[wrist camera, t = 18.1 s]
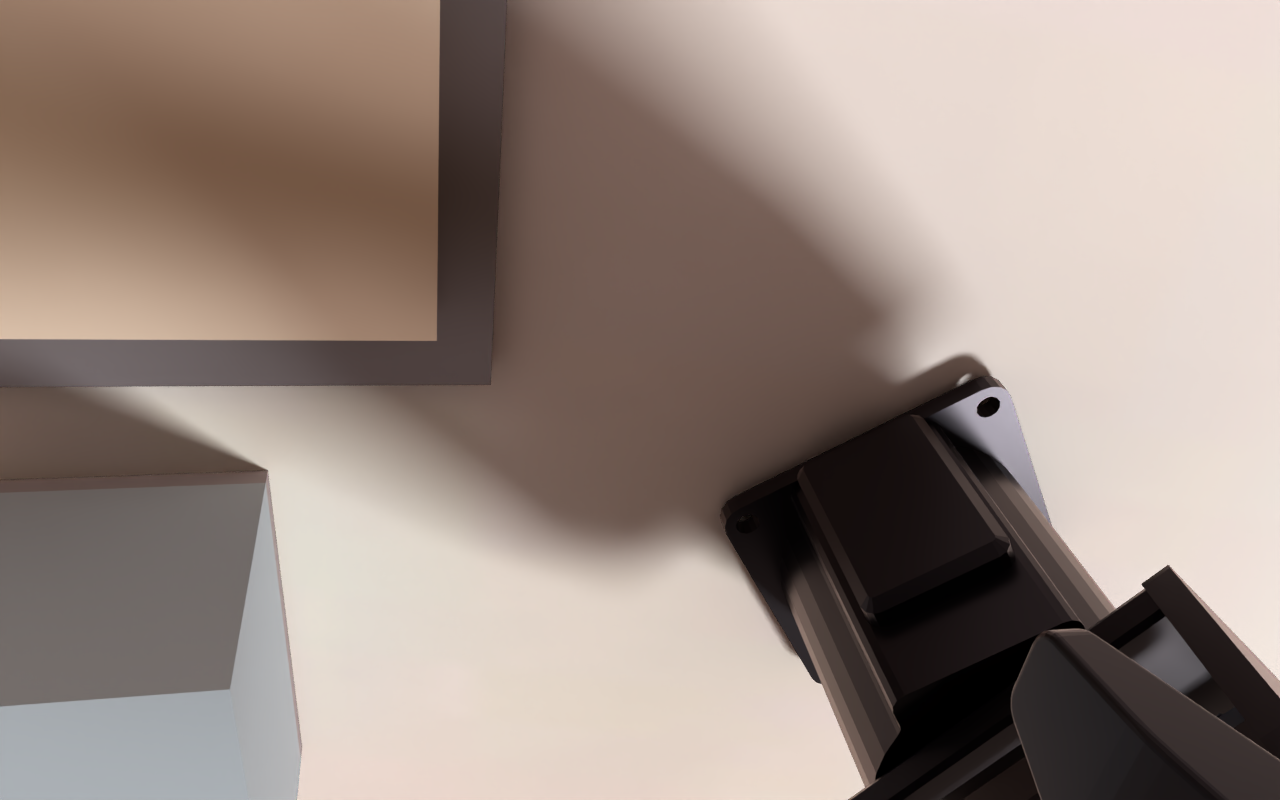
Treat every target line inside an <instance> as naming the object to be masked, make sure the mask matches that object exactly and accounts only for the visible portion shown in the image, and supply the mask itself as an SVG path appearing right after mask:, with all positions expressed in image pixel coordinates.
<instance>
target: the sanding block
mask: <svg viewBox="0 0 1280 800" xmlns="http://www.w3.org/2000/svg"><path fill="white" fill-rule="evenodd" d="M301 753H302V742H301V734H300V725H299V717H298V709H297V701H296V693H295V685H294V677H293V669H292V661H291V653H290V645H289V637H288V629H287V621H286V613H285V604H284V596H283V588H282V580H281V572H280V564H279V556H278V548H277V540H276V532H275V524H274V516H273V508H272V500H271V492H270V483H269V475H268V471H241V472H213V473H186V474H158V475H131V476H103V477H76V478H48V479H21V480H0V800H297V795H298V784H299V774H300V763H301Z"/></svg>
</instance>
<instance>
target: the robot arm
mask: <svg viewBox="0 0 1280 800" xmlns="http://www.w3.org/2000/svg"><path fill="white" fill-rule="evenodd" d="M988 397H990V399H989V401H988V402H986V403H985V404H984V405H982V406H978V405H979V403H980V402H981V401H982V400H984V399H985V398H988ZM746 515H752V517H750V518H749V519H748V520H745V521H738V520H739V519H740V518H742V517H743V516H746ZM720 518H721V521H722V524H723V527H724V529H725V532H726V535H727V536H728V538H729V540H730V541H731V543H732V545H733V546H734V548H735V550H736V551H737V553H738V555H739V556H740V558H741V560H742V561H743V563H744V565H745V566H746V568H747V570H748V572H749V573H750V575H751V577H752V578H753V580H754V582H755V583H756V585H757V587H758V588H759V590H760V592H761V593H762V595H763V597H764V598H765V600H766V602H767V603H768V605H769V607H770V608H771V610H772V612H773V613H774V615H775V617H776V618H777V620H778V622H779V624H780V625H781V627H782V629H783V630H784V632H785V634H786V635H787V637H788V639H789V640H790V642H791V644H792V645H793V647H794V649H795V650H796V652H797V654H798V655H799V657H800V659H801V660H802V662H803V664H804V665H805V667H806V669H807V671H808V672H809V674H810V676H811V677H812V679H813V680H814V681H815V682H817V683H820V684H822V685H823V688H824V690H825V693H826V695H827V697H828V700H829V702H830V704H831V707H832V709H833V712H834V714H835V716H836V719H837V721H838V723H839V726H840V728H841V731H842V733H843V735H844V738H845V740H846V743H847V745H848V747H849V750H850V752H851V754H852V757H853V759H854V762H855V764H856V766H857V769H858V771H859V773H860V776H861V778H862V781H863V783H864V785H865V788H864V789H862V790H861V791H860V792H858V793H857V794H855V795H854V796H853V797H851V798H850V799H848V800H1280V681H1279V680H1278V679H1277V678H1276V676H1275V675H1274V674H1273V673H1272V672H1271V671H1270V670H1269V669H1268V668H1267V667H1266V666H1265V665H1264V664H1263V663H1262V662H1261V661H1260V660H1259V659H1258V658H1257V656H1256V655H1255V654H1254V653H1253V652H1252V651H1251V650H1250V649H1249V648H1248V647H1247V646H1246V645H1245V644H1244V643H1243V642H1242V641H1241V640H1240V639H1239V638H1238V637H1237V636H1236V635H1235V634H1234V633H1233V632H1232V630H1231V629H1230V628H1229V627H1228V626H1227V625H1226V624H1225V623H1224V622H1223V621H1222V620H1221V619H1220V618H1219V617H1218V616H1217V615H1216V614H1215V613H1214V612H1213V611H1212V610H1211V609H1210V608H1209V607H1208V605H1207V604H1206V603H1205V602H1204V601H1203V600H1202V599H1201V598H1200V597H1199V596H1198V595H1197V594H1196V593H1195V592H1194V591H1193V590H1192V589H1191V588H1190V587H1189V586H1188V585H1187V584H1186V583H1185V582H1184V581H1183V579H1182V578H1181V577H1180V576H1179V575H1178V574H1177V573H1176V572H1175V571H1174V570H1173V569H1172V568H1171V567H1170V566H1169V565H1167V566H1166V567H1164V568H1163V569H1162V570H1160V571H1159V572H1157V573H1156V574H1155V575H1153V576H1152V577H1150V578H1149V579H1148V580H1146V581H1145V582H1143V583H1142V586H1143V587H1144V588H1145V589H1143V590H1142V591H1141V592H1139V593H1138V594H1136V595H1135V596H1134V597H1132V598H1131V599H1129V600H1128V601H1127V602H1125V603H1124V604H1122V605H1121V606H1120V607H1118V608H1117V609H1115V607H1114V606H1113V605H1112V603H1111V602H1110V601H1109V600H1108V598H1107V597H1106V596H1105V594H1104V593H1103V592H1102V590H1101V589H1100V588H1099V587H1098V585H1097V584H1096V583H1095V581H1094V580H1093V579H1092V577H1091V576H1090V575H1089V574H1088V572H1087V571H1086V570H1085V568H1084V567H1083V566H1082V565H1081V563H1080V562H1079V561H1078V559H1077V558H1076V557H1075V555H1074V554H1073V553H1072V552H1071V550H1070V549H1069V548H1068V546H1067V545H1066V544H1065V542H1064V541H1063V540H1062V539H1061V537H1060V536H1059V535H1058V533H1057V532H1056V531H1055V529H1054V528H1053V527H1052V525H1051V522H1050V518H1049V515H1048V512H1047V509H1046V506H1045V502H1044V499H1043V496H1042V493H1041V490H1040V487H1039V483H1038V480H1037V477H1036V474H1035V471H1034V468H1033V464H1032V461H1031V458H1030V455H1029V452H1028V449H1027V445H1026V442H1025V439H1024V436H1023V433H1022V430H1021V426H1020V423H1019V420H1018V417H1017V414H1016V411H1015V407H1014V404H1013V401H1012V398H1011V395H1010V394H1009V392H1008V391H1007V390H1006V389H1005V387H1004V386H1003V385H1002V384H1001V383H1000V381H999V380H997V379H995V378H993V377H984V376H983V377H980V378H977V379H974V380H972V381H970V382H968V383H966V384H963V385H961V386H959V387H957V388H955V389H953V390H951V391H949V392H947V393H945V394H943V395H941V396H939V397H937V398H935V399H933V400H931V401H929V402H927V403H925V404H923V405H921V406H919V407H917V408H914V409H912V410H910V411H908V412H906V413H904V414H902V415H900V416H898V417H896V418H894V419H892V420H890V421H888V422H886V423H884V424H882V425H880V426H878V427H876V428H874V429H872V430H870V431H868V432H865V433H863V434H861V435H859V436H857V437H855V438H853V439H851V440H849V441H847V442H845V443H843V444H841V445H839V446H837V447H835V448H833V449H831V450H829V451H827V452H825V453H823V454H821V455H819V456H816V457H814V458H812V459H810V460H808V461H806V462H804V463H802V464H800V465H798V466H796V467H794V468H792V469H790V470H788V471H786V472H784V473H782V474H780V475H778V476H776V477H774V478H772V479H770V480H768V481H765V482H763V483H761V484H759V485H757V486H755V487H753V488H751V489H749V490H747V491H745V492H743V493H741V494H739V495H737V496H735V497H733V498H732V499H730V500H729V501H727V502H726V504H725V505H724V506H723V508H722V510H721V514H720Z"/></svg>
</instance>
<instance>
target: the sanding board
mask: <svg viewBox="0 0 1280 800" xmlns="http://www.w3.org/2000/svg"><path fill="white" fill-rule="evenodd" d="M506 12H507V0H0V387H111V386H323V385H491V364H492V341H493V317H494V294H495V270H496V247H497V223H498V200H499V176H500V153H501V129H502V106H503V82H504V59H505V35H506Z"/></svg>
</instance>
